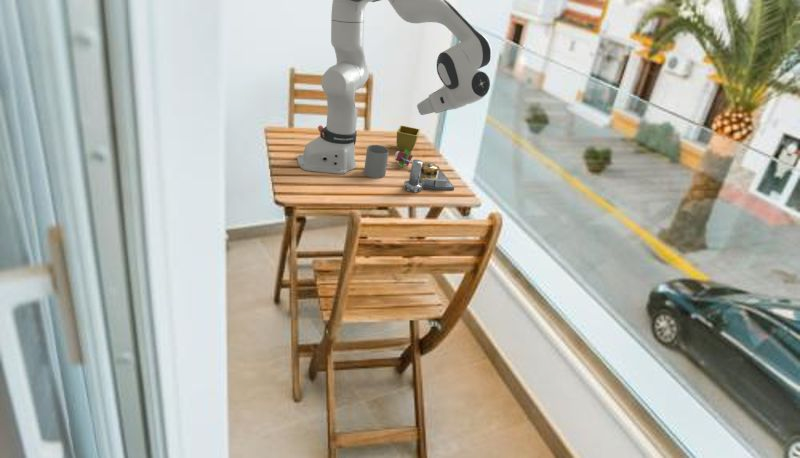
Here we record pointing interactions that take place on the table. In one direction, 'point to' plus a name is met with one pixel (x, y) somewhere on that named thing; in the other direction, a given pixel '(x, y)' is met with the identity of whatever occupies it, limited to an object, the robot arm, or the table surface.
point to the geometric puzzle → (403, 157)
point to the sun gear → (429, 168)
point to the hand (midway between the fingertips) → (434, 103)
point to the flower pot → (407, 138)
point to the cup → (376, 161)
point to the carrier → (435, 181)
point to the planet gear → (414, 177)
